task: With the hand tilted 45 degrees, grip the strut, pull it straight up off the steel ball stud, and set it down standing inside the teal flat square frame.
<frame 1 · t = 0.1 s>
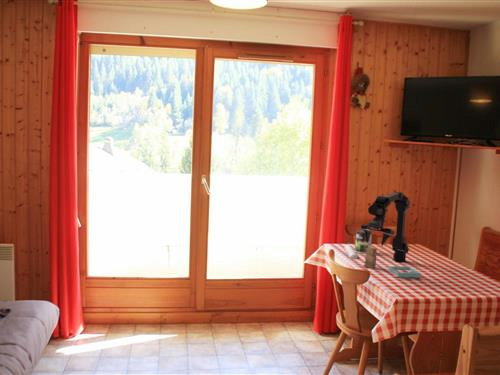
hand: (374, 244, 291), 15 cm above the table, tool pointing down, fingers open, 9 cm apart
stud mount: (369, 269, 295), on the table
strut: (370, 266, 295), point 1 cm above the table, touching stud mount
teal flat square frame: (403, 274, 287), on the table
coffee can: (362, 252, 338), on the table
tube: (350, 256, 324), on the table
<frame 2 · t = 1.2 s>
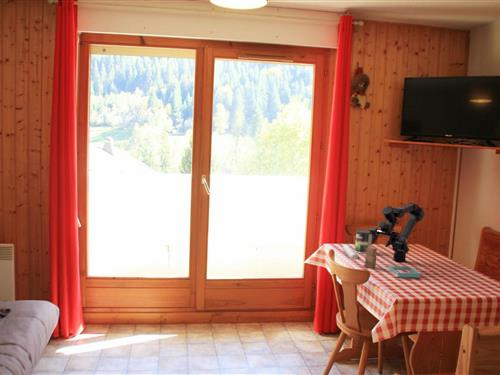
hand: (378, 245, 299), 13 cm above the table, tool tilted 45°, fingers open, 9 cm apart
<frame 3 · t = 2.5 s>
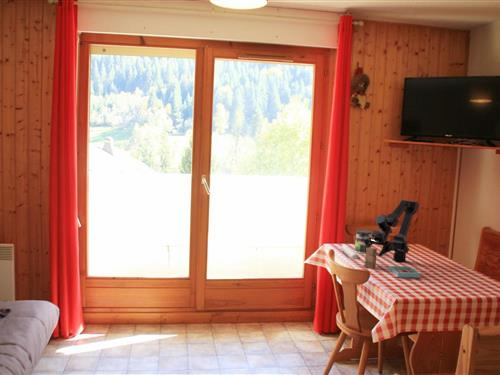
hand: (371, 254, 295), 9 cm above the table, tool tilted 45°, fingers open, 9 cm apart
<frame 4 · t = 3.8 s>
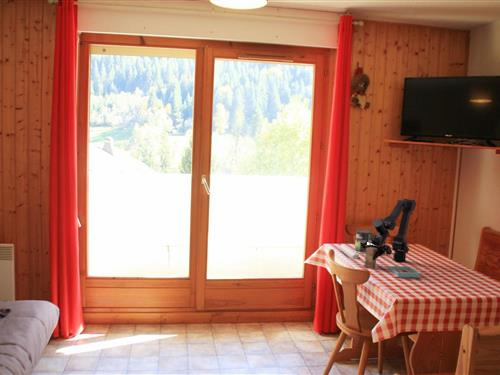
hand: (369, 258, 293), 7 cm above the table, tool tilted 45°, fingers closed on strut, 4 cm apart
strut: (370, 266, 295), point 2 cm above the table, touching gripper, stud mount
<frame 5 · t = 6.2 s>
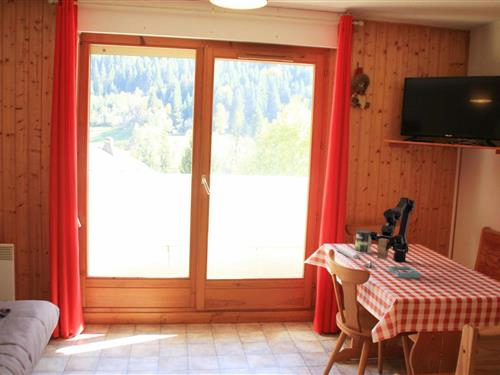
hand: (382, 250, 288), 13 cm above the table, tool tilted 45°, fingers closed on strut, 4 cm apart
strut: (382, 258, 290), point 8 cm above the table, touching gripper
when the fingers open (7 cm above the table, at t = 8.5 s): strut drops 2 cm, resting on teal flat square frame.
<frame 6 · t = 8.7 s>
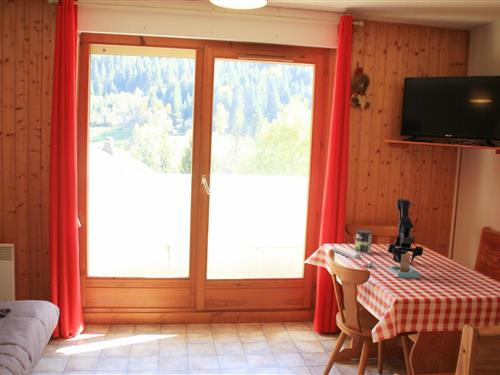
hand: (405, 262, 285), 8 cm above the table, tool tilted 45°, fingers open, 7 cm apart
strut: (403, 273, 287), point 1 cm above the table, touching teal flat square frame
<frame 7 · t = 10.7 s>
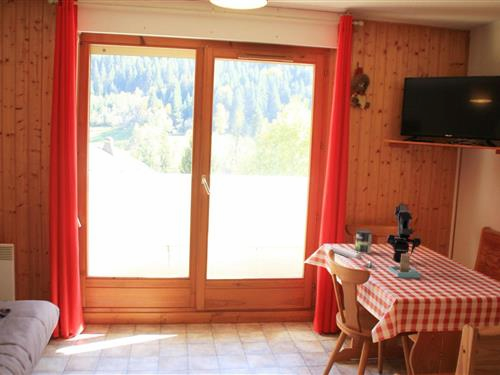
hand: (403, 252, 294), 11 cm above the table, tool tilted 40°, fingers open, 9 cm apart
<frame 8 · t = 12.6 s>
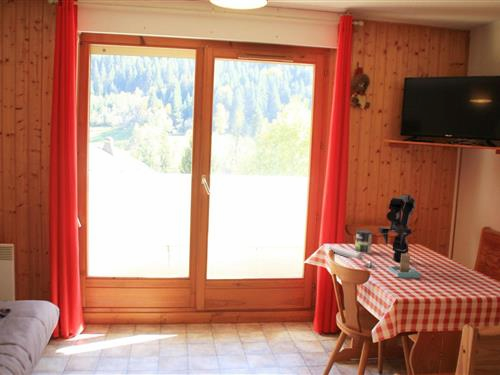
hand: (393, 244, 304), 13 cm above the table, tool pointing down, fingers open, 9 cm apart
at the end: strut inside the target area on the teal flat square frame (0.1 cm from its centre), point 0.6 cm above the teal flat square frame's base; the gripper is holding nothing; strut tilted 0° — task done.
